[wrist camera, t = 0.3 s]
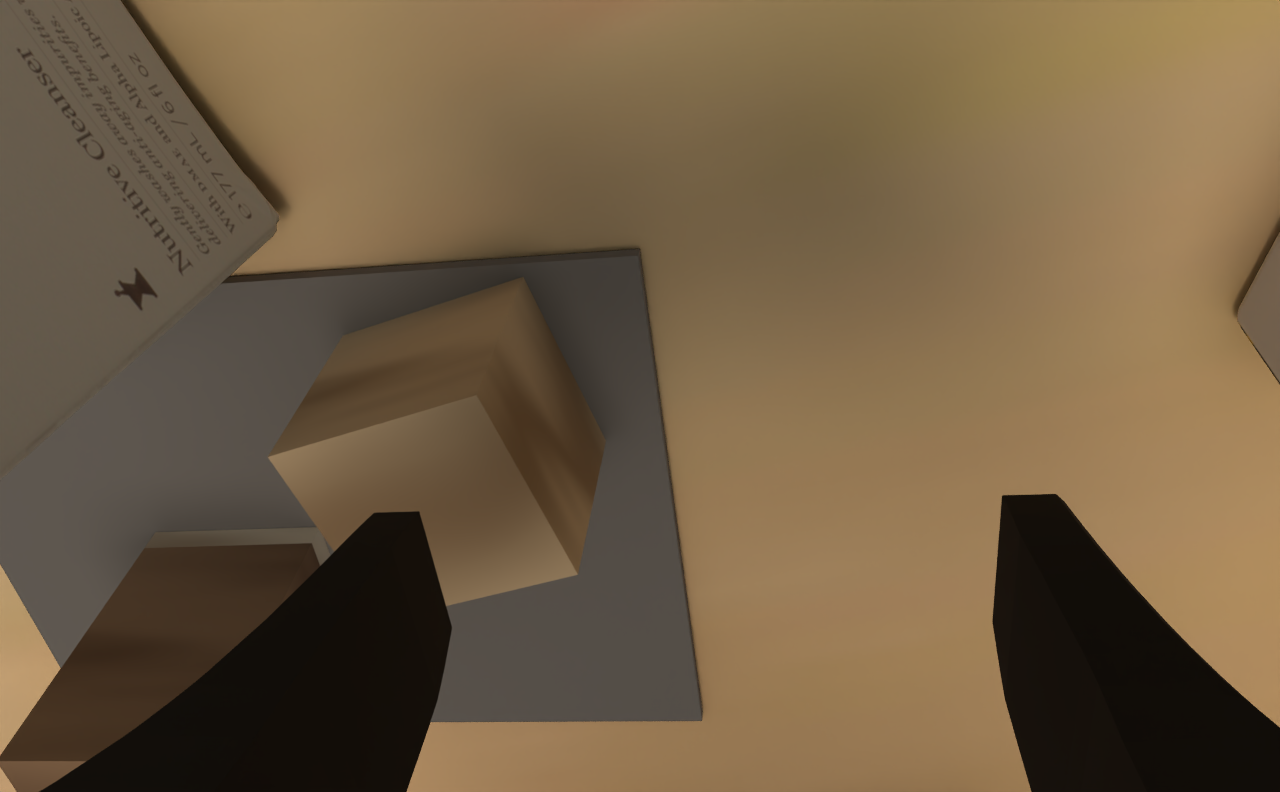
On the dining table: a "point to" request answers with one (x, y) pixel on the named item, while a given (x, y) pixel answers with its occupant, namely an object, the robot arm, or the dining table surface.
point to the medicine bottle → (1264, 310)
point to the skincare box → (101, 209)
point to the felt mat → (260, 499)
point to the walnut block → (158, 640)
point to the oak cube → (453, 441)
